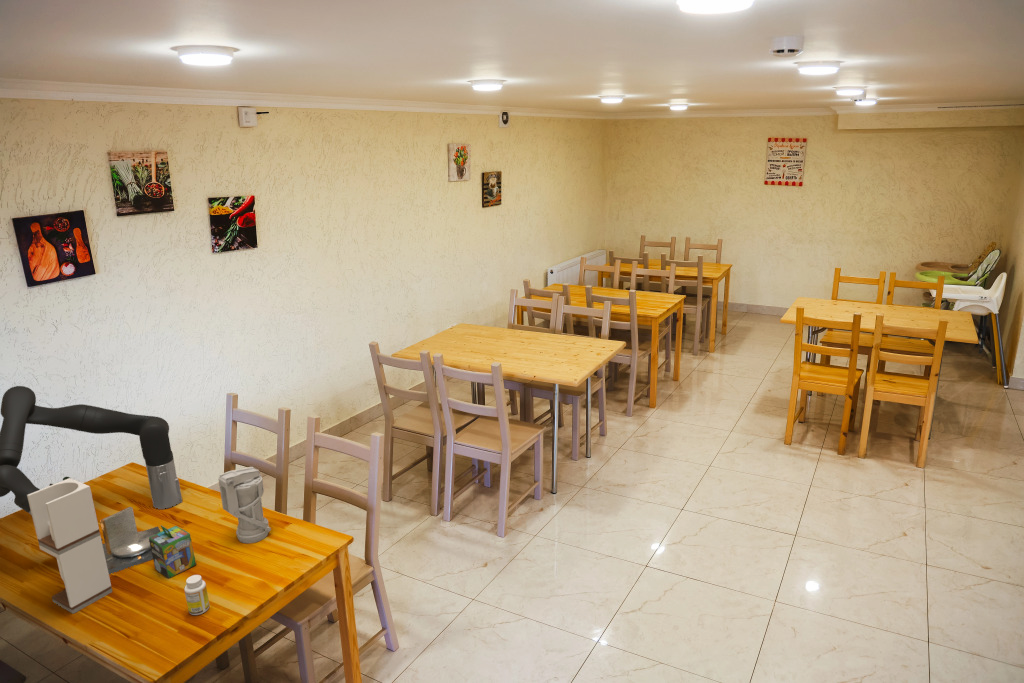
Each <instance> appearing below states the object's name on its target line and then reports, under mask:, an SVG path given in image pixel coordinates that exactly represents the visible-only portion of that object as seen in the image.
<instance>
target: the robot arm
mask: <svg viewBox="0 0 1024 683" xmlns="http://www.w3.org/2000/svg"><path fill="white" fill-rule="evenodd" d="M1 399H2V400H1V403H0V404H1V405H0V415H1V417H2V418H3V419H2V424H1V428H0V498H2V497H5V496H6V495H8V494H9V493H10V492H11V493H12V494H14V499H13V500H14V501H13V502H14V504H15V505H16V506H17V507H18V508H20V509H21V510H23V511H25V512H26V513H28V514H29V515H31V516H32V514H31V510H30V506H29V501H28V497H27V495H28V494H31V493H33V492H36V491H38V490H41V489H40V488H38V487H36V485H34V484H33V481H31V479H30V478H28V476H27V475H26V474H25V473H24V472H23V471H22V470H20V469H19V468H18V467H19V465H20V462H21V460H22V455H23V450H24V442H25V434H26V426H27V424H28V425H29V424H30V425H38V426H39V425H40V426H48V427H56V428H61V429H68V430H73V431H77V432H82V433H88V434H89V433H90V434H97V435H99V434H101V435H103V434H105V435H106V434H116V433H121V434H123V433H124V434H129V435H130V434H131V435H135V436H138V437H139V443H140V448H141V452H142V458H143V459H144V462H145V463H144V464H145V469H146V473H147V479H148V484H149V489H150V490H149V491H150V494H151V500H152V505H153V508H154V507H155V508H154V509H156V508H158V509H157V510H165V508H166V509H169V508H172V506H173V507H175V506H177V505H178V504H180V503H183V497H182V492H181V486H180V480H179V477H178V476H177V471H176V466H175V459H174V453H173V451H172V448H171V440H170V435H169V432H170V425H169V423H168V421H167V420H165V419H164V418H162V417H159V416H155V415H146V414H145V415H143V414H135V413H127V412H123V411H119V410H113V409H109V408H103V407H99V406H96V405H95V406H94V405H89V404H80V403H79V404H73V405H67V406H62V407H46V406H40V405H36V402H37V397H36V393H35V391H34V390H32V389H31V388H29V387H27V386H24V385H16V386H11V387H10V388H8V389H6V391H4V394H3V396H2V398H1ZM176 504H177V505H176ZM103 540H104V538H102V537H101V541H102V542H103Z"/></svg>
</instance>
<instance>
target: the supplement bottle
mask: <svg viewBox="0 0 1024 683" xmlns="http://www.w3.org/2000/svg"><path fill="white" fill-rule="evenodd" d="M185 581H186V582H185V584H186V585H185V586H184V589H183V590H184V595H185V600H186V605H187V606H186V607H187V611H188V613H189V614H190V615H192V616H198V615H202V614H203V613H206V612H207V611H208V610H209V608H210V601H209V596H208V590H207V584H206V583H207V582H206V581H205V580H203V578H202V576H201V575H200V574H193V575H191V576H189V577H187V579H186V580H185Z"/></svg>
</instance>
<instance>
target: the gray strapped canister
mask: <svg viewBox="0 0 1024 683" xmlns="http://www.w3.org/2000/svg"><path fill="white" fill-rule="evenodd" d="M218 486H219V491H220V493H219V494H220V498H221V505H222V509H223V510H224V511H226V512H227V513H229V514H230V515H232V516H233V517H235V518H237V520H238V524H237V529H236V532H235V535H236V537H237V539H238V541H239V542H240V543H243V544H254V543H255V544H256V543H258V542H261V541H262V540H264V539H265V538H267V536H268V535H269V532H270V531H271V530H272V527H270V526H269V520H268V519H267V518H266V517H265V516H264V511H263V510H264V509H263V503H262V497H263V495H264V492H265V488H264V481H263V477H262V474H261V473H260V470H259V469H258V468H255V467H253V466H249V467H242V468H237V469H232V470H229V471H225V472H223V473H219V477H218Z"/></svg>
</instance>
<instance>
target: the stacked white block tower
mask: <svg viewBox="0 0 1024 683" xmlns="http://www.w3.org/2000/svg"><path fill="white" fill-rule="evenodd" d="M52 484H53V485H51V486H49V485H48V486H46V487H43V488H41V489H40V490H38V491H36V492H33V493H31V494H28V495H27V497H28V501H29V506H30V510H31V514H32V515H31V514H30V515H31V517H32V522H33V526H34V529H35V535H36V537H37V542H38V546H39V550H41V551H43V552H45V553H47V554H49V555H51V556H52V557H54V558H56V561H57V566H58V570H59V574H60V578H61V579H62V581H63V583H64V587H65V589H63V590H61V591H59V592H58V593H56V594H53V595H52V596H51V598H52V603H53V602H54V604H55V603H56V604H55V605H57V604H58V605H57V606H58V607H60V606H61V608H62V609H63V610H65V609H66V611H68V612H69V613H71V614H75V613H78V612H79V611H81V610H82V609H85V608H86V607H87V606H89V605H91V604H93V603H95V602H97V601H98V600H100V599H102V598H104V597H106V596H107V595H110V594H111V593H113V588H112V584H111V578H110V574H109V573H108V568H107V564H106V559H105V555H104V550H103V545H102V544H103V540H102V541H101V538H102V537H101V536H102V535H101V532H100V527H99V521H98V518H97V514H96V508H95V504H94V500H93V494H92V490H91V486H90V485H87V484H85V483H83V482H80V481H78V480H75V479H74V478H72V477H70V478H68V479H66V480H63V479H62V480H61V481H59V482H56V483H52Z"/></svg>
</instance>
